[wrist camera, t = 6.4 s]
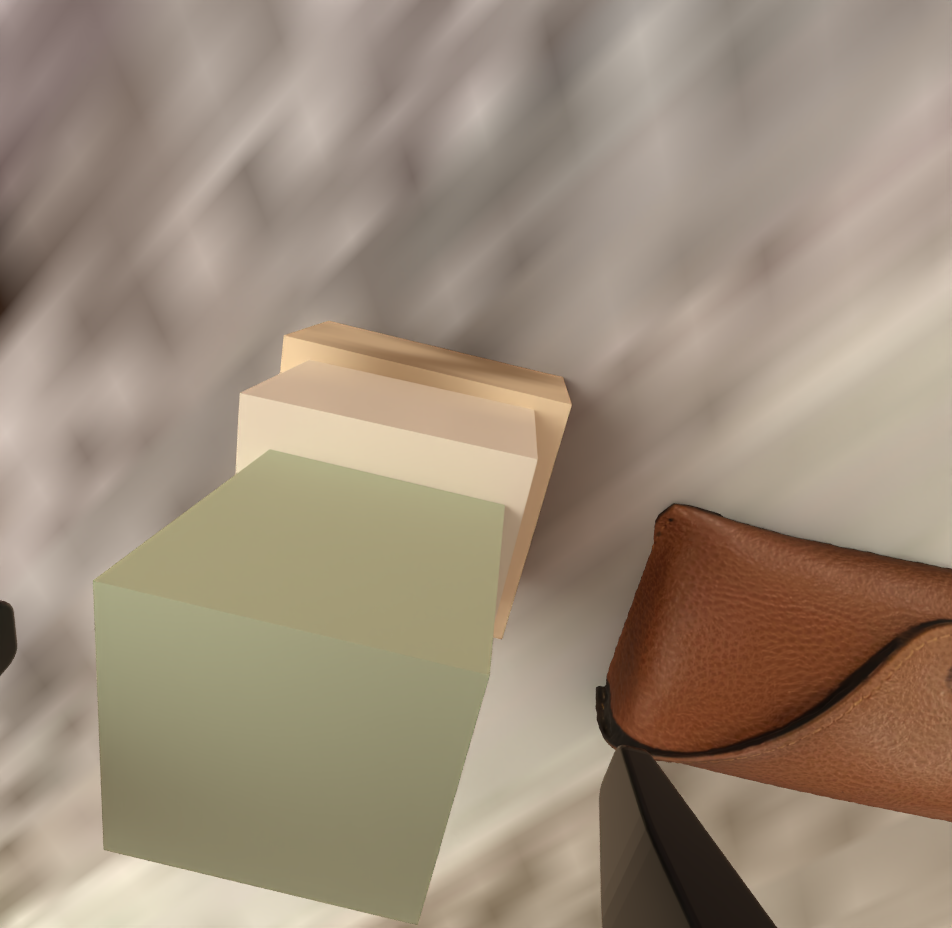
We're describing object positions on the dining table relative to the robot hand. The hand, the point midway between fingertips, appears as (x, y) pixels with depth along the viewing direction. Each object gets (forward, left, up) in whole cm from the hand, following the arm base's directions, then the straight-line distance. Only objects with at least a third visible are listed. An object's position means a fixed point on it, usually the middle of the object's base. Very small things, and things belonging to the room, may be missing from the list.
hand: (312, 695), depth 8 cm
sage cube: (0, 0, -3) cm, 3 cm away
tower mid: (0, 0, -7) cm, 7 cm away
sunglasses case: (-17, 0, -11) cm, 20 cm away
